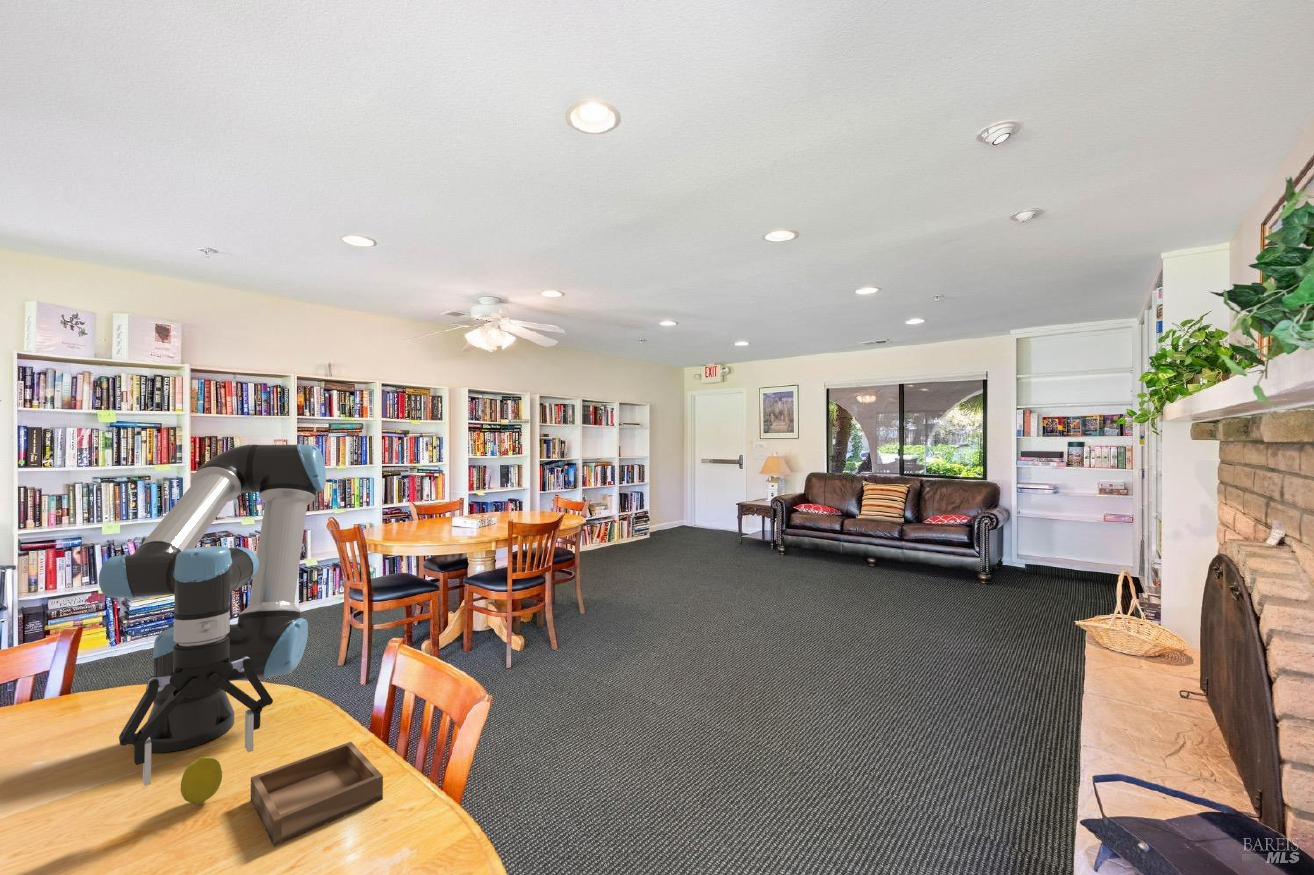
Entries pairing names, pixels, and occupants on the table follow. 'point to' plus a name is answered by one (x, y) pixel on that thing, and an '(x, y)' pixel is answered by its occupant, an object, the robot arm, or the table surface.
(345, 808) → the walnut bin
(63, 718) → the table surface
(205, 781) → the lemon
